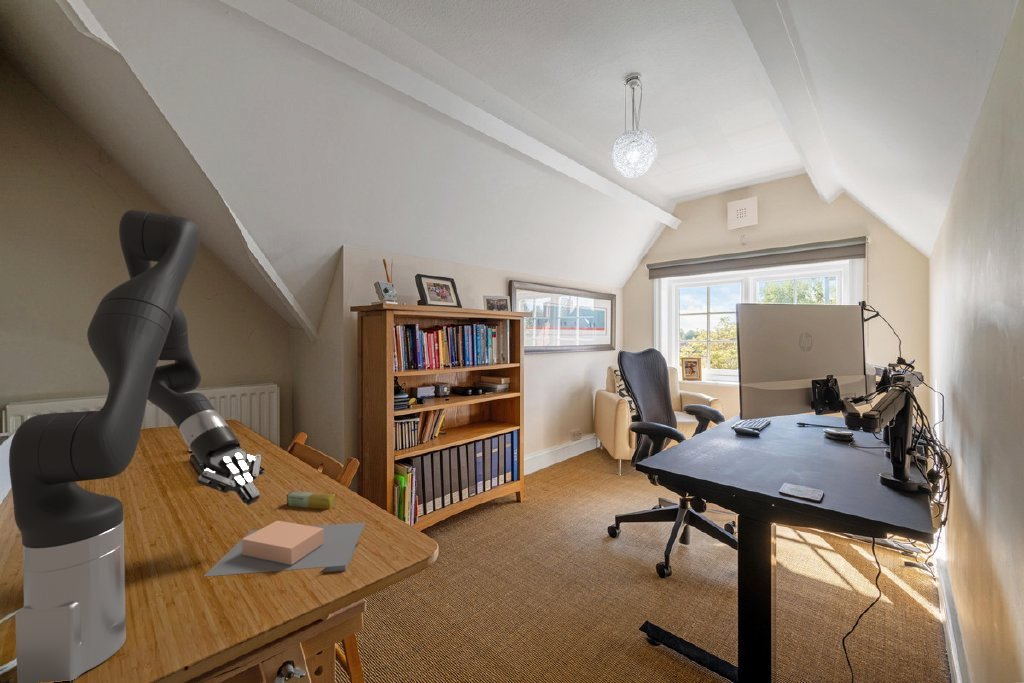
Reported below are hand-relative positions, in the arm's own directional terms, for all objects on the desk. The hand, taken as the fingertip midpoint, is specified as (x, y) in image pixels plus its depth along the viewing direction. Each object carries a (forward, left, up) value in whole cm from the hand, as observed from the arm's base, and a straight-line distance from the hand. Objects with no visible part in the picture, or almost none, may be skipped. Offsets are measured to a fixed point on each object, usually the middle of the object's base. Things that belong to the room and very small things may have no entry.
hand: (254, 501), depth 81 cm
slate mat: (-2, -8, -10) cm, 13 cm away
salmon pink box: (-1, -1, -7) cm, 7 cm away
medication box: (+18, -5, -10) cm, 21 cm away
